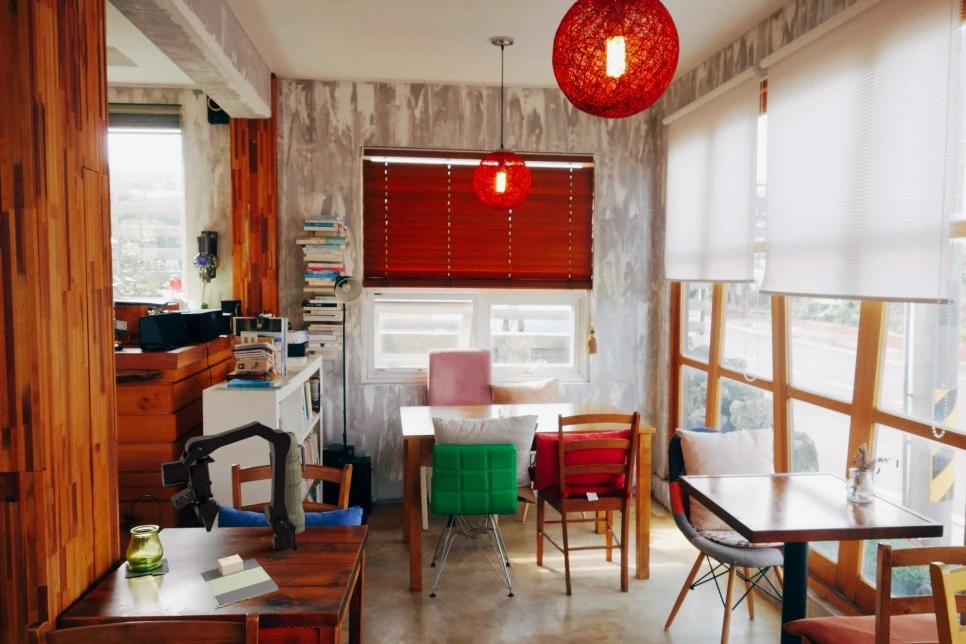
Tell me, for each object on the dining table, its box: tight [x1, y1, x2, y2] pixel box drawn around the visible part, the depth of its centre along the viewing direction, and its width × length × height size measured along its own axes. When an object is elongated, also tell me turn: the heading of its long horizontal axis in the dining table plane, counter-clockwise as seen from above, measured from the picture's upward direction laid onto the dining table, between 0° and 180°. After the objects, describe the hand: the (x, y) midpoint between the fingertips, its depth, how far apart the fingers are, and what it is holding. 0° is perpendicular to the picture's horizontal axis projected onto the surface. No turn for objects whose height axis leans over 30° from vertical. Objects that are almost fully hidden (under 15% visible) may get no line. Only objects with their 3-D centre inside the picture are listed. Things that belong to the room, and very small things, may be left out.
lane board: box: [205, 565, 279, 607], centre depth 200 cm, size 16×24×1 cm, turn 34°
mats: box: [200, 558, 279, 604], centre depth 200 cm, size 16×24×1 cm, turn 34°
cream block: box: [217, 553, 244, 576], centre depth 207 cm, size 6×6×3 cm
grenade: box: [268, 431, 307, 536], centre depth 237 cm, size 9×12×35 cm
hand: (205, 527), depth 210 cm, fingers open, 9 cm apart
